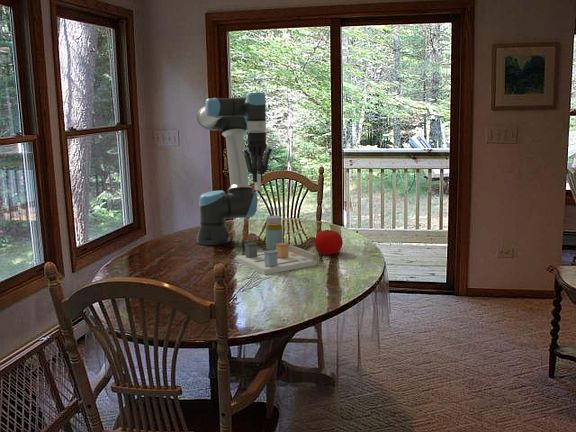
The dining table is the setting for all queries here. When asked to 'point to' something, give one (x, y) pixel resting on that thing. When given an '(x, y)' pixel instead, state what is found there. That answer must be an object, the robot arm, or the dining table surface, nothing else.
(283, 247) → the slider mid
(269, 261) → the slider right
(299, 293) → the dining table surface
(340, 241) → the tomato
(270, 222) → the bottle
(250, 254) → the slider left
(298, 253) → the white base board
